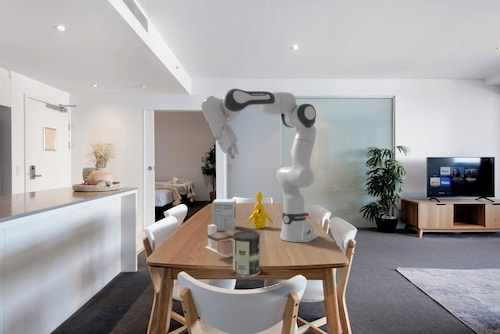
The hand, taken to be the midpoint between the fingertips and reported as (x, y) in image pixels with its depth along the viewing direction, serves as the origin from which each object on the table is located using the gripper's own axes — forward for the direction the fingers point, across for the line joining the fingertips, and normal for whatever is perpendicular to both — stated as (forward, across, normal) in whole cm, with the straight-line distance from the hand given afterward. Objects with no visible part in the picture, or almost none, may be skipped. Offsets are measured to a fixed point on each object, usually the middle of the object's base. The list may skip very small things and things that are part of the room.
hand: (235, 156), depth 125 cm
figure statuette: (+41, +50, -7) cm, 65 cm away
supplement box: (+31, +52, +13) cm, 62 cm away
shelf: (+38, +4, +23) cm, 44 cm away
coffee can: (+44, -14, +20) cm, 50 cm away
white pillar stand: (+36, +8, +24) cm, 44 cm away
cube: (+36, +4, +22) cm, 43 cm away
